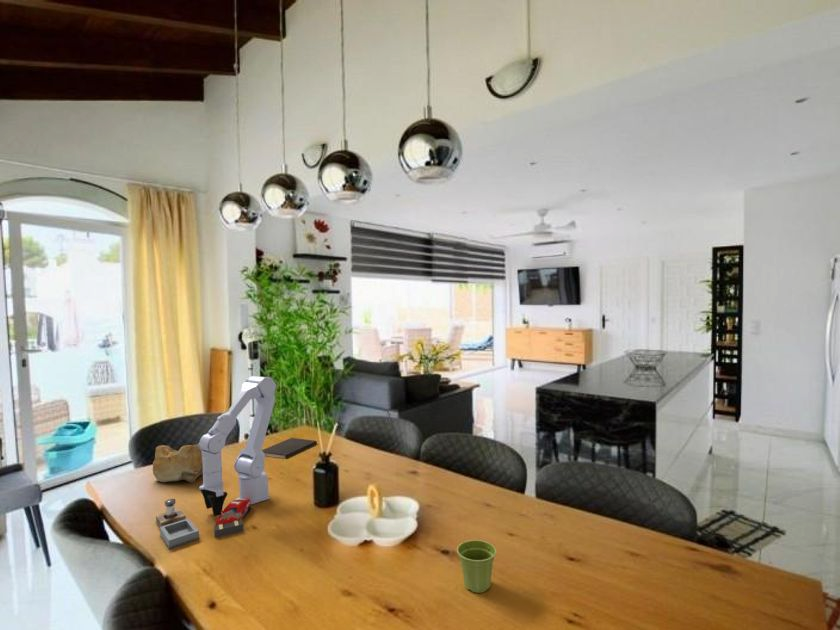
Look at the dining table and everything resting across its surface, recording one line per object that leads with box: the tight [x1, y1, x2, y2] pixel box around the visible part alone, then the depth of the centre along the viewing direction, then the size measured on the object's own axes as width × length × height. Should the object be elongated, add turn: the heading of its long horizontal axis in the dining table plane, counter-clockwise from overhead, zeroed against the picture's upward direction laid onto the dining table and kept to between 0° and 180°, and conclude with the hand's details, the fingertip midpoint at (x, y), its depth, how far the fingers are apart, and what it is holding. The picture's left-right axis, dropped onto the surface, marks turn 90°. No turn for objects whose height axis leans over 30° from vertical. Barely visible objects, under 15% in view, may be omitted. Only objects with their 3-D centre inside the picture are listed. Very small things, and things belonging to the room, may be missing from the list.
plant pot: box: [456, 539, 497, 594], centre depth 108 cm, size 9×9×9 cm
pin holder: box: [155, 508, 187, 528], centre depth 144 cm, size 7×7×2 cm
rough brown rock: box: [152, 443, 203, 483], centre depth 184 cm, size 23×17×15 cm
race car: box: [214, 498, 252, 526], centre depth 146 cm, size 16×7×5 cm, turn 177°
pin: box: [164, 498, 176, 519], centre depth 144 cm, size 3×3×7 cm
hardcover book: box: [262, 437, 318, 460], centre depth 217 cm, size 16×23×2 cm
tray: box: [159, 518, 200, 550], centre depth 135 cm, size 8×11×2 cm
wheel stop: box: [213, 519, 244, 539], centre depth 137 cm, size 8×3×3 cm, turn 118°
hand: (213, 511), depth 148 cm, fingers open, 7 cm apart
